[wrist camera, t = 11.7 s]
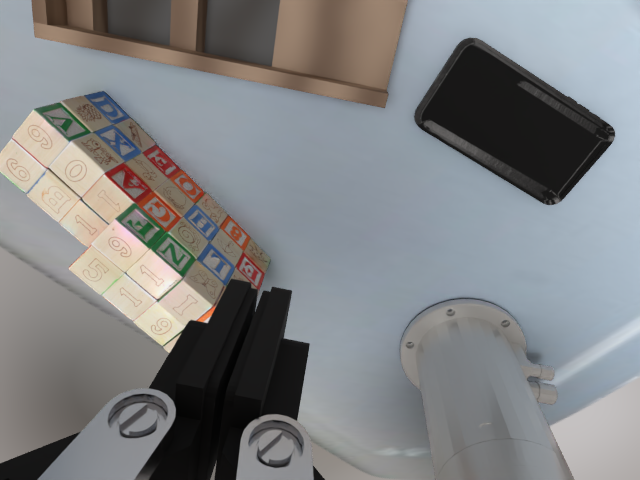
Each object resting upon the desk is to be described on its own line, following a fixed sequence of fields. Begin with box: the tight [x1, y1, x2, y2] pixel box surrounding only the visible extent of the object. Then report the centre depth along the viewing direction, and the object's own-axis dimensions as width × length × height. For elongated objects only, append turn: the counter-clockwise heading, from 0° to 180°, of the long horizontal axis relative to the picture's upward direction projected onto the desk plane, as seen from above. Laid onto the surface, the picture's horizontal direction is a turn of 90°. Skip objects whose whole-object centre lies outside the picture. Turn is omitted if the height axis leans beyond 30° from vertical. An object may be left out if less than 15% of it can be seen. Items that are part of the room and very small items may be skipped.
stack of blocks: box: [0, 91, 271, 353], centre depth 37 cm, size 21×6×12 cm, turn 41°
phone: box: [414, 38, 615, 205], centre depth 37 cm, size 8×1×15 cm
